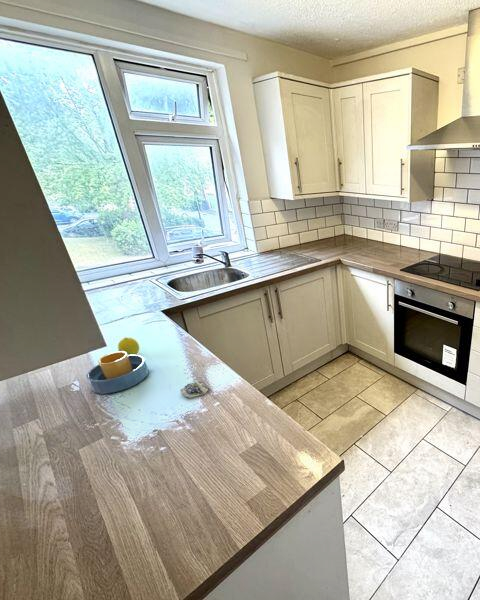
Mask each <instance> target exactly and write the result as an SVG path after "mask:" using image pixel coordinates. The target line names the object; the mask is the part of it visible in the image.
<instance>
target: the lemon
mask: <svg viewBox="0 0 480 600" xmlns="http://www.w3.org/2000/svg"><path fill="white" fill-rule="evenodd" d="M117 349H118V352H119V351H123V352H126V353H127V354H128V355H138V354H139V352H140V345H139V343H138V341H137V340H136V339H134V338H133V337H127V336H126V337H123V338H122V339H121V340H119V342H118V344H117Z"/></svg>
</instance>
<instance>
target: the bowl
mask: <svg viewBox="0 0 480 600" xmlns="http://www.w3.org/2000/svg"><path fill="white" fill-rule="evenodd" d="M128 357H129V360H130V362H131V365H132V367H133V371H131V372H130V373H127V374H125V375H123V376H120V377H117V378H114V379H109V380H106V379H105V376H104V374H103V372H102V370H101V367H100V365H99V364H97V365H95V366H94V367H92V368H91V369H90V370H89V371H88V372H87V374H86V380H87V382H88V384H89V386H90V388H91V390H92V391H93V392H94V393H96V394H102V395H103V394H112V393H116V392H120V391H123V390H126V389H129V388H131V387H133V386H135V385H137V384H139V383H140V382H141V381H143V380H144V379H145V378H146V377H147V376H148V374H149V371H150V370H149V368H148V365H147V362H146V360H145V357H144V356H142V355H139V354H136V355H128Z"/></svg>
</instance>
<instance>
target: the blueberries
mask: <svg viewBox="0 0 480 600" xmlns="http://www.w3.org/2000/svg"><path fill="white" fill-rule="evenodd" d="M204 386H205V385H204V382H203V383H202V382H201V381H195V382H191V383H187V384H186V385H184V387H183V388H181V389H180V390H179V391H180V393H181V394H183V396H185V397H187V398H189V399H191V398H195V397H200V396H203V395H205V394H207V393H208V390H209V389H208V388H207V387H206V386H205V387H204Z"/></svg>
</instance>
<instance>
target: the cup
mask: <svg viewBox="0 0 480 600" xmlns="http://www.w3.org/2000/svg"><path fill="white" fill-rule="evenodd" d="M97 362H98V365H100V367H101V370H102V372H103V374H104V376H105V379H106V380H109V379H114V378H117V377H120V376H123V375H125V374H127V373H130V372H131V371H133V367H132V365H131V362H130V360H129V357H128V354H127V353H126V352H123V351H119V350H118V351H114V352H110V353H108V354H105V355H104V356H101V357H100V358H99V359H98V361H97Z"/></svg>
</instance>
